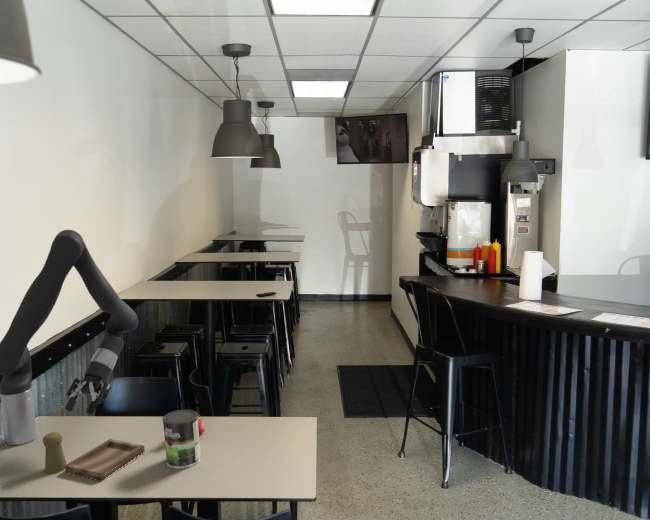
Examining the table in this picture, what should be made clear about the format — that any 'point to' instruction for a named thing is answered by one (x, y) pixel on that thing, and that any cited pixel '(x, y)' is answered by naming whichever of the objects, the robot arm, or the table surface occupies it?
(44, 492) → the table surface
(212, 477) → the table surface
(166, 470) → the table surface
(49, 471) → the cork
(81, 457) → the walnut tray
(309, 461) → the table surface
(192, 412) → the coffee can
